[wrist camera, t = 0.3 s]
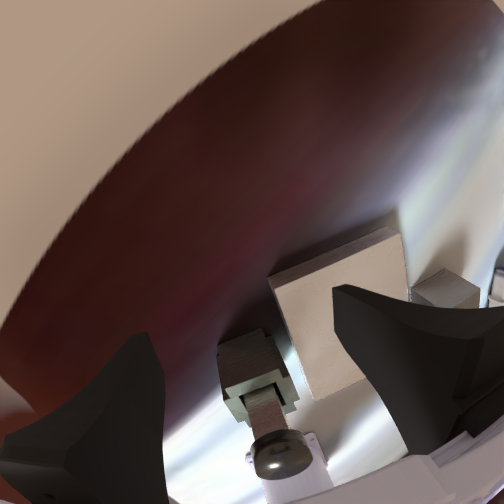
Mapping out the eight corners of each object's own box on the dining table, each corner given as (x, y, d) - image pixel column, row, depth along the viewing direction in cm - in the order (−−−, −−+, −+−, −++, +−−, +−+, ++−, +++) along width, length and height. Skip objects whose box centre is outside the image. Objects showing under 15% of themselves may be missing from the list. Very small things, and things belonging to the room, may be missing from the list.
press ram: (284, 387, 21) (317, 466, 14) (244, 402, 21) (266, 485, 14) (271, 358, 20) (306, 443, 13) (227, 375, 20) (247, 464, 13)
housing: (445, 305, 26) (487, 335, 20) (413, 325, 26) (453, 361, 20) (444, 268, 25) (492, 295, 19) (410, 288, 25) (457, 321, 19)
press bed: (400, 340, 26) (429, 369, 22) (248, 411, 25) (259, 452, 21) (385, 226, 22) (426, 244, 17) (190, 308, 21) (191, 349, 16)
